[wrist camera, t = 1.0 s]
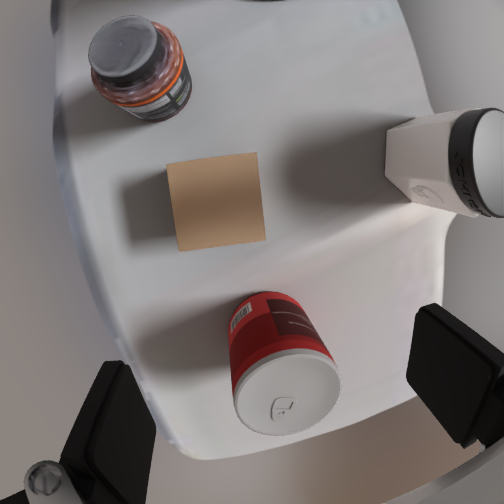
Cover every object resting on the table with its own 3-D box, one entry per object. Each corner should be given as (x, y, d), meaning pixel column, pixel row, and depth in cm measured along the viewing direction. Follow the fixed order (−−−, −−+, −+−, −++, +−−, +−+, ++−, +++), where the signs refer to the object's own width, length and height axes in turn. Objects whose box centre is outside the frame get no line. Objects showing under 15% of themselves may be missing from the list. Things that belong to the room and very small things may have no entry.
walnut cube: (178, 165, 25) (166, 164, 19) (248, 156, 25) (256, 152, 19) (187, 234, 26) (179, 251, 21) (255, 224, 27) (265, 240, 21)
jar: (366, 163, 26) (451, 165, 15) (402, 102, 25) (487, 80, 13) (423, 216, 28) (507, 243, 17) (455, 157, 27) (538, 163, 15)
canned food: (229, 361, 30) (236, 441, 20) (225, 290, 28) (230, 359, 17) (302, 355, 31) (334, 428, 20) (306, 286, 29) (351, 346, 18)
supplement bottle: (130, 63, 22) (83, 8, 11) (195, 60, 22) (182, -5, 11) (123, 125, 23) (64, 99, 12) (190, 123, 24) (169, 88, 13)
